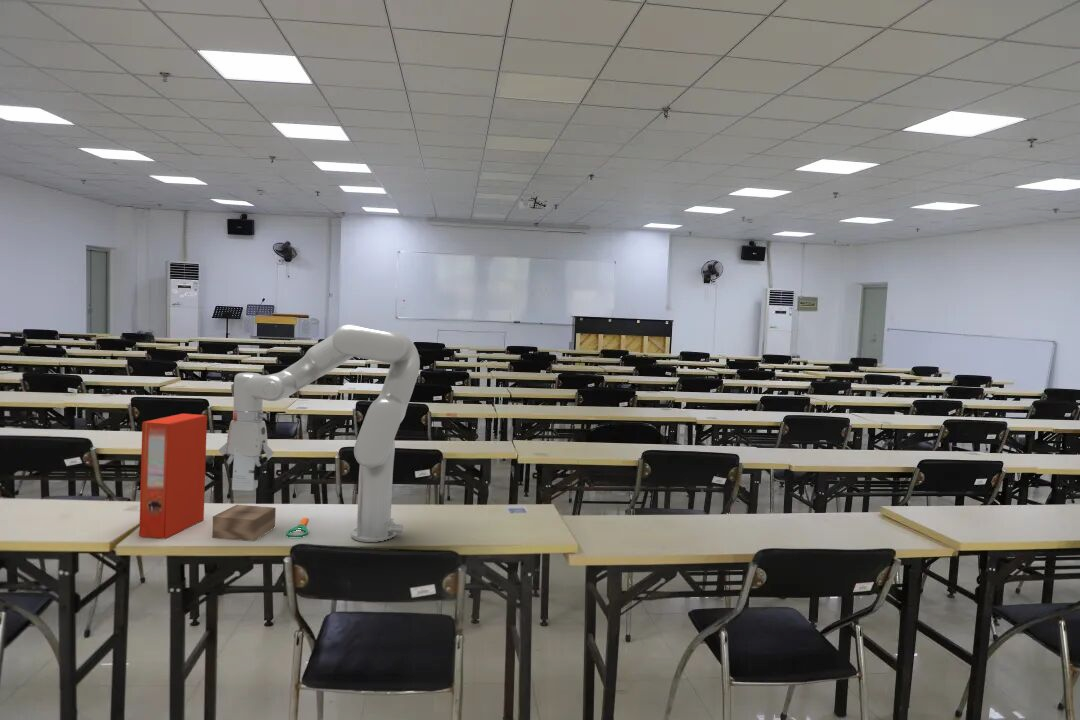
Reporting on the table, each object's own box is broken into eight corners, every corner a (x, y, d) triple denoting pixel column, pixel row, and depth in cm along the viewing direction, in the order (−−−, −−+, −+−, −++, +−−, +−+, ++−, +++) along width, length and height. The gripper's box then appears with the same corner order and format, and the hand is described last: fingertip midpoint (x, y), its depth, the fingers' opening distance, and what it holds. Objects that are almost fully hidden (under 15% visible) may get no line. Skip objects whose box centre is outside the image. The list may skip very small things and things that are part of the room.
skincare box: (231, 490, 181) (232, 448, 180) (236, 486, 185) (237, 445, 184) (254, 491, 181) (255, 448, 181) (259, 487, 186) (260, 445, 185)
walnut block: (274, 527, 189) (275, 507, 189) (253, 541, 177) (254, 519, 177) (236, 524, 190) (236, 504, 190) (212, 537, 178) (212, 516, 178)
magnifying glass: (305, 539, 182) (306, 533, 182) (283, 539, 181) (283, 533, 181) (315, 522, 197) (315, 517, 197) (295, 522, 196) (295, 517, 196)
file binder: (204, 520, 193) (207, 415, 191) (167, 539, 176) (169, 423, 174) (179, 518, 193) (181, 413, 192) (139, 537, 176) (141, 421, 174)
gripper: (283, 416, 185) (281, 477, 186) (226, 412, 187) (224, 472, 188) (270, 420, 178) (268, 483, 179) (210, 415, 179) (208, 478, 180)
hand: (245, 477), depth 183 cm, fingers closed on skincare box, 6 cm apart
